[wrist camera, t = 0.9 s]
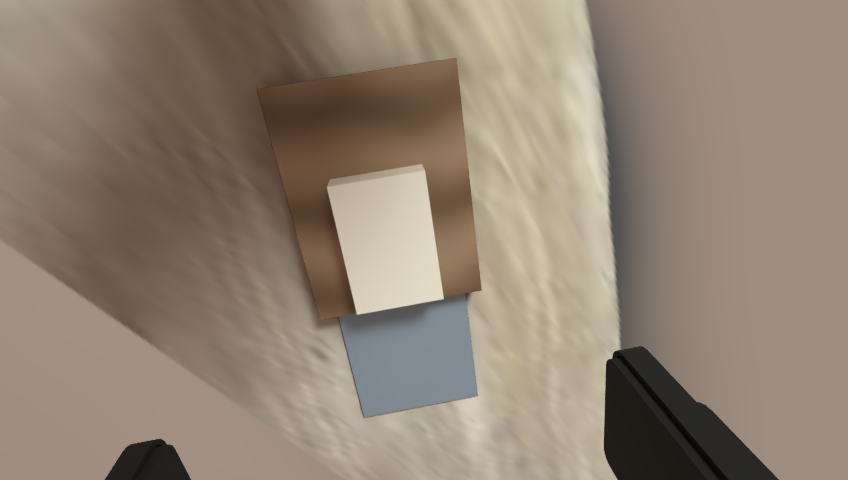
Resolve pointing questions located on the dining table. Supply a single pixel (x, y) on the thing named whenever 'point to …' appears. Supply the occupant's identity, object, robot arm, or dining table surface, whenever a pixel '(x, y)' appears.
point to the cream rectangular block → (387, 238)
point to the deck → (373, 163)
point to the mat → (411, 355)
